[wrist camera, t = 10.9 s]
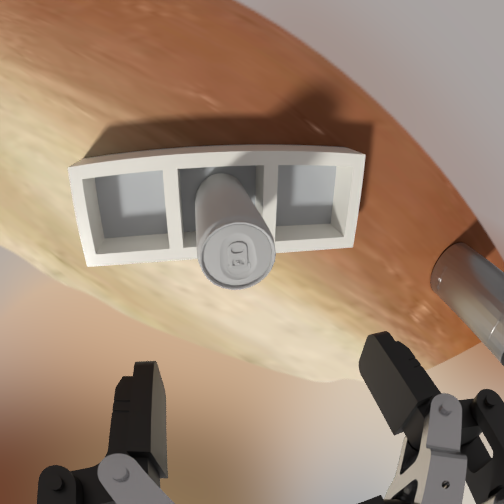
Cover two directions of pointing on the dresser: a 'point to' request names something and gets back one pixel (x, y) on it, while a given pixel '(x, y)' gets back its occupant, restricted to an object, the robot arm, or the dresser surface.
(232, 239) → the beverage can
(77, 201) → the can caddy
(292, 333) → the dresser surface
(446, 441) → the robot arm
